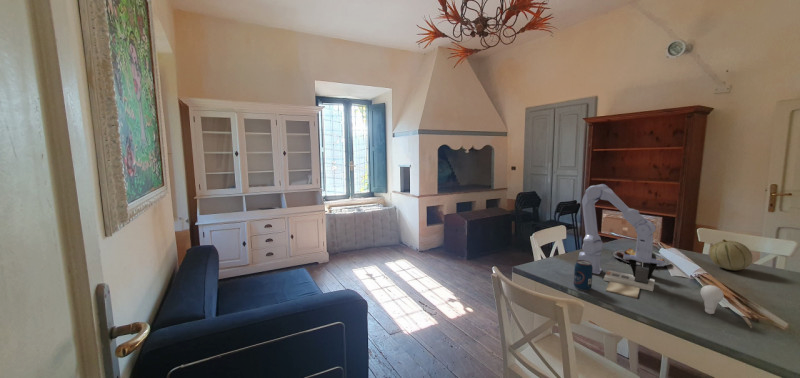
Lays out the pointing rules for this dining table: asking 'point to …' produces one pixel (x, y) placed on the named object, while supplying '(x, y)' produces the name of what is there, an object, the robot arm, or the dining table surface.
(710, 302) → the lightbulb
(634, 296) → the pad
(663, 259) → the food plate
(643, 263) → the battery charger
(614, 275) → the white slotted block
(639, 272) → the block
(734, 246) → the cantaloupe
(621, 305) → the dining table surface
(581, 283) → the soda can
